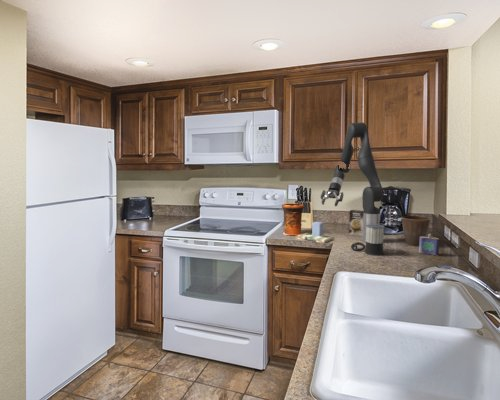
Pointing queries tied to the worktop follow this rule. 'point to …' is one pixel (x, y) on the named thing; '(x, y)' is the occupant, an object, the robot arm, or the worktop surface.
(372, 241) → the milk frother
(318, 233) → the slate block
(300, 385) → the worktop surface
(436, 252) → the flask
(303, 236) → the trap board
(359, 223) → the coffee box
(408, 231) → the plant pot
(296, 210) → the vessel
